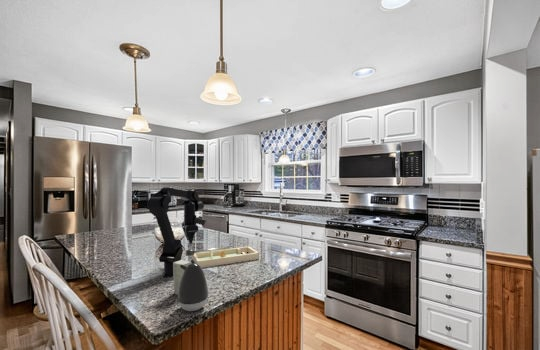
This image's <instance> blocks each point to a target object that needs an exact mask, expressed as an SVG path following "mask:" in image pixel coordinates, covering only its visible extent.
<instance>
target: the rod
mask: <svg viewBox="0 0 540 350" xmlns="http://www.w3.org/2000/svg"><path fill="white" fill-rule="evenodd" d="M225 249H230V247H229V246H224V247H218V248H208V249H199V250H195V249H186V250H185V256H186V257H188V256H193V255H194V253H201V252H209V251H210V259H213V251H217V250H225Z"/></svg>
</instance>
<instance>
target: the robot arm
mask: <svg viewBox="0 0 540 350" xmlns="http://www.w3.org/2000/svg"><path fill="white" fill-rule="evenodd" d="M172 197H174V198H180V200H183V202H182V203H181V206H183V221H182V222H181V228H182V230H183V233H184V236H185V238H186V240H187V241H188V243H189V244H190V245H192V244H193V240H194V238H195V234H196V233H197V232H198V231H199V226H198V225H200V226H203V227H204V226H205V225H206V222H207V219H205V218H203V216H201V215H199V216H198V217H197V215H196V213H197V212H201V211H203V210H204V207H205V204H204V203H203V201H202V199H200V197H199V194H198V192H197V190H196V189H180V188H174V187H172V186H166V187H162V188H161V189H160V190H159V191H157V192H155V193H154V194H153V195H151V197H150V198H148V200H147V202H146V208H147V209H148V211H149V212H150V214H151V215H153V216H154V217H155V220H156V222H157V226H158V228H159V231H160V234H161V237H162V239H163V246H162V252H161V254H160V255H159V257H158V260H159V262H160V263H163V271H162V277H163V278H167V277H169V278H170V277H173V262H176V261H180V260H182V257H183V251H184V249H183V244H182V240H181V239H176V237H175V234H174V231H173V228H172V225H171V222H170V218H169V215H168V212H169V210H170V207H169V206H170V205H169V204H171V202H172Z"/></svg>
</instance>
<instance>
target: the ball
mask: <svg viewBox="0 0 540 350" xmlns="http://www.w3.org/2000/svg"><path fill="white" fill-rule="evenodd" d="M225 256H226V253H225V252H224V251H222V252H220V257H225Z"/></svg>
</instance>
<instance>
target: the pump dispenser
mask: <svg viewBox="0 0 540 350" xmlns="http://www.w3.org/2000/svg"><path fill="white" fill-rule="evenodd" d="M180 268H182V269H183V270H184V273H183V275H182V278H181V281H180V285H179V291H178V294H177V301H178V304H179V307H181V308H182V309H183V310H184V311H186V312H195V311H199V310H200V309H202V308H203V307H204V306H205V304H206V302H207V301H208V297H209V287H208V283H207V282H208V281H207V277H206V275H205V272H204V270H203V268H201V267H200V265H198V264H196V263H194V262H193V263H192V262H191V264H190V265H188V266H187V267H186V266H184V265H180Z"/></svg>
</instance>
